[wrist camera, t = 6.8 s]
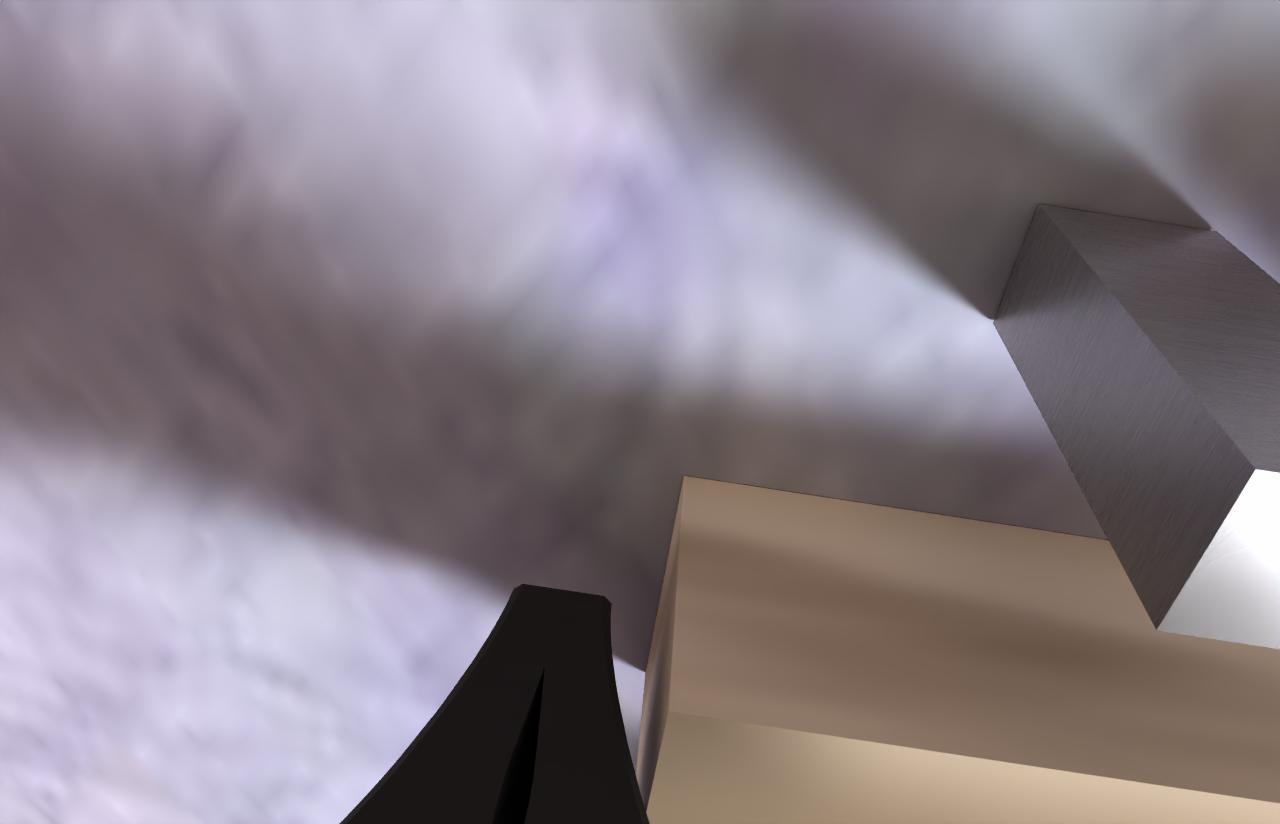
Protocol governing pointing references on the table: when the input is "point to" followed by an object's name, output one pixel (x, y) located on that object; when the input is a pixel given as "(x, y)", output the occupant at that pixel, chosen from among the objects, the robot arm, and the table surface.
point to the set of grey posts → (1161, 406)
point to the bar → (933, 678)
